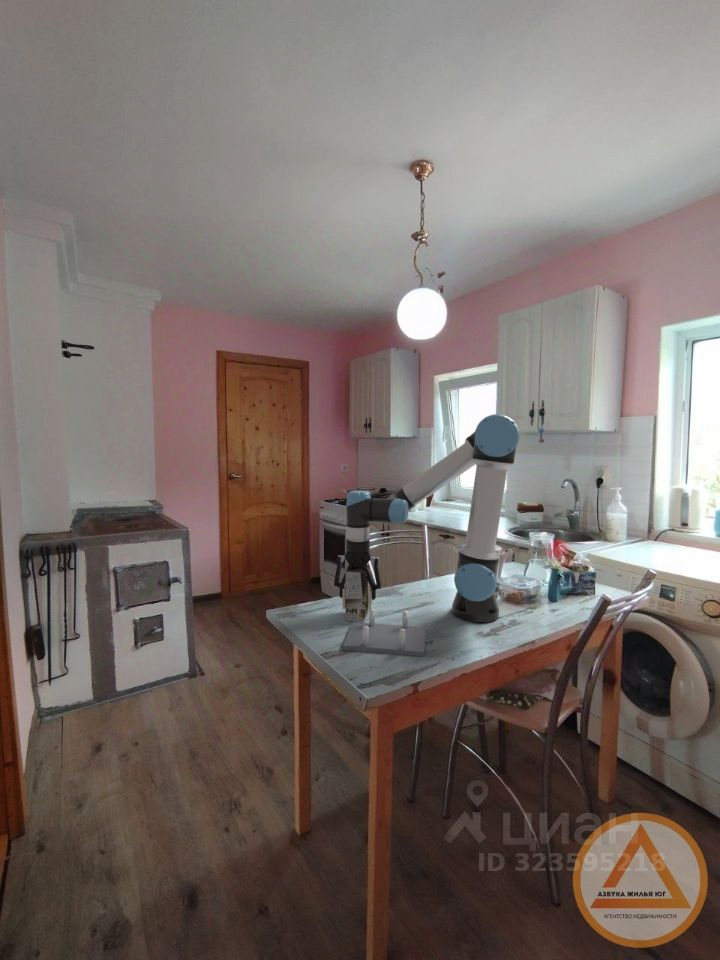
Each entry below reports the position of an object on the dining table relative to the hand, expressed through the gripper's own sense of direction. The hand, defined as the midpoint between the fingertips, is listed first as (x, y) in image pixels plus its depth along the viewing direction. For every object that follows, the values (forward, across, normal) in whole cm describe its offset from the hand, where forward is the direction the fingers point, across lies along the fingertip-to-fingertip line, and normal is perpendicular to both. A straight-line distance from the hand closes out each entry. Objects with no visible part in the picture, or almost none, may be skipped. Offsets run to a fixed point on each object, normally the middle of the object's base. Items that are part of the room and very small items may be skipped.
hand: (357, 608), depth 144 cm
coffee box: (+3, 0, 0) cm, 3 cm away
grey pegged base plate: (+3, -11, +16) cm, 19 cm away
